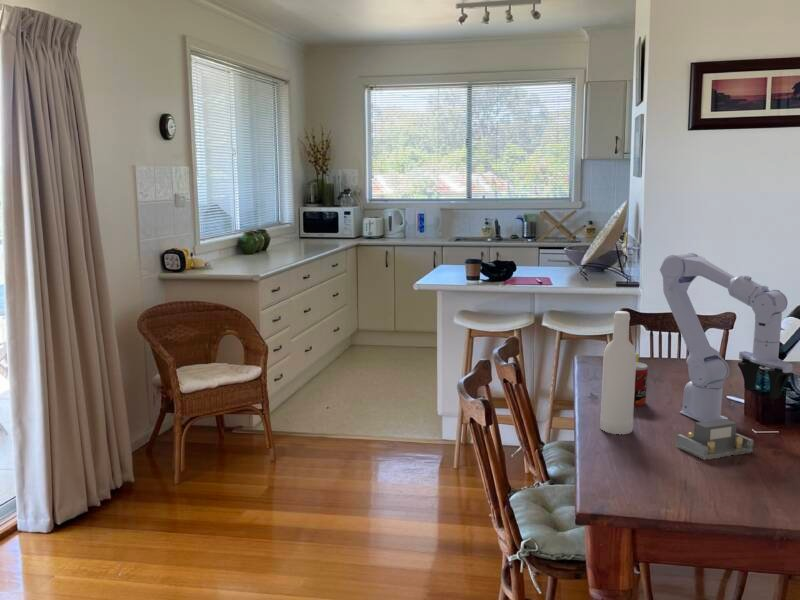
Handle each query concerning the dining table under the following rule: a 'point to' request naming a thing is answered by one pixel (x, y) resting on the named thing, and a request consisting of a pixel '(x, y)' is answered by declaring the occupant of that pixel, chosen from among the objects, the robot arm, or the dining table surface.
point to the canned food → (640, 384)
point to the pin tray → (719, 452)
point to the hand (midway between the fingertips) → (762, 394)
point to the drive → (716, 432)
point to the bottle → (618, 379)
